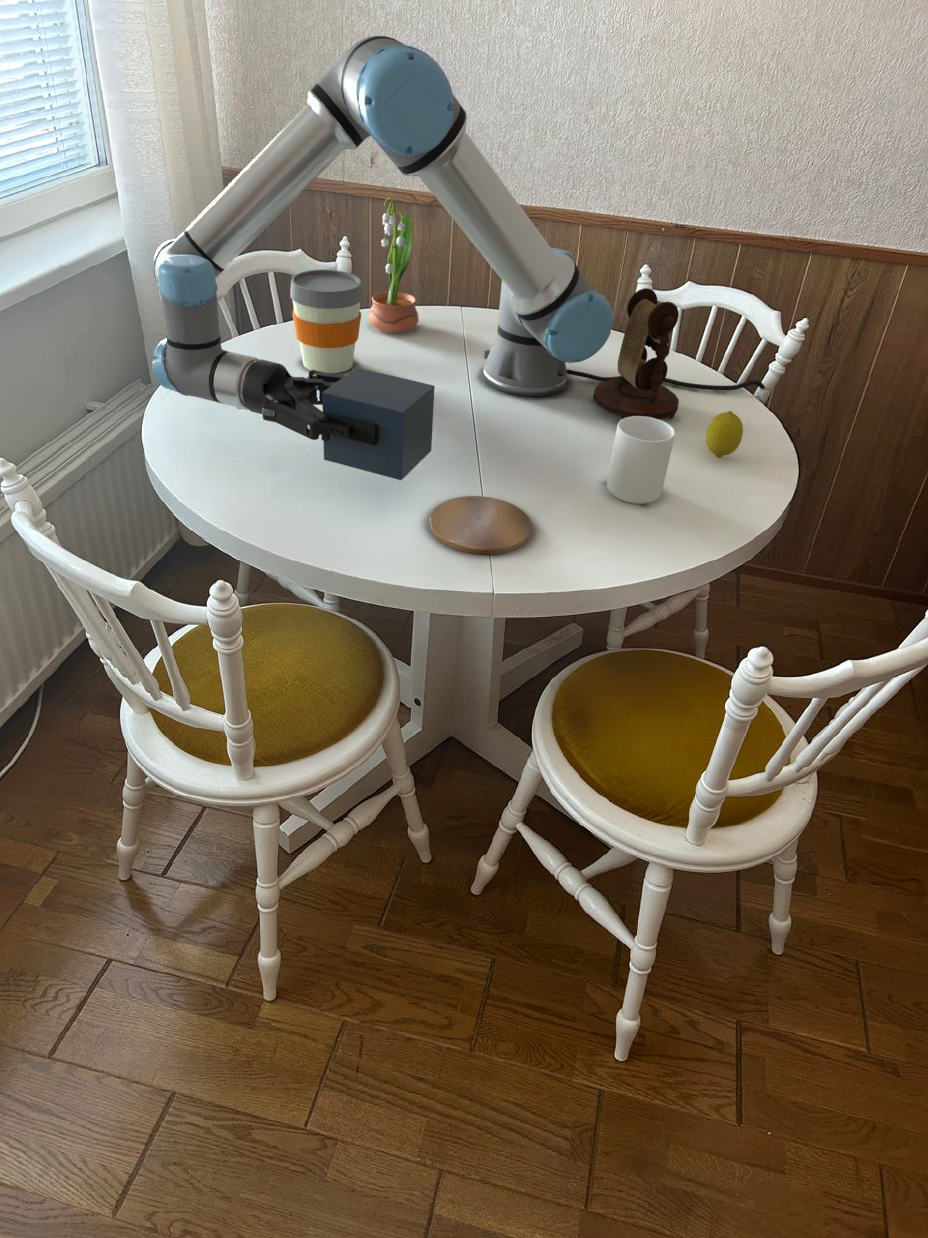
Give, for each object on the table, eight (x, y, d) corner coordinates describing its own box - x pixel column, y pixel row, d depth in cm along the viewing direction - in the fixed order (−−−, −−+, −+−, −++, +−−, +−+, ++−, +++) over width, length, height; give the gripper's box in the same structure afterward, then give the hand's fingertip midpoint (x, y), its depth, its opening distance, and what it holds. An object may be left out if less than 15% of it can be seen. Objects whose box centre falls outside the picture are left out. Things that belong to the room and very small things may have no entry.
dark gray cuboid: (323, 459, 128) (321, 392, 122) (357, 432, 136) (357, 367, 130) (401, 480, 125) (403, 412, 119) (431, 450, 133) (434, 385, 127)
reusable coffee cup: (278, 364, 166) (274, 280, 157) (322, 345, 175) (320, 264, 166) (333, 383, 161) (332, 297, 152) (376, 362, 170) (377, 280, 161)
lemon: (737, 453, 151) (749, 408, 146) (733, 468, 147) (746, 421, 142) (703, 446, 152) (714, 401, 147) (698, 460, 148) (710, 414, 143)
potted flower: (409, 342, 179) (413, 205, 164) (359, 335, 181) (359, 198, 165) (423, 322, 189) (429, 191, 174) (376, 315, 190) (377, 184, 175)
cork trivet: (510, 496, 134) (511, 491, 134) (545, 548, 124) (546, 543, 123) (418, 505, 130) (418, 500, 130) (446, 559, 120) (446, 554, 119)
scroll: (577, 396, 165) (594, 282, 153) (648, 388, 170) (670, 278, 157) (617, 432, 154) (640, 313, 142) (692, 423, 159) (719, 307, 147)
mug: (588, 468, 143) (599, 406, 137) (637, 464, 145) (649, 403, 139) (619, 507, 134) (631, 443, 128) (670, 503, 136) (685, 439, 130)
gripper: (296, 382, 143) (426, 414, 137) (210, 439, 126) (355, 479, 120) (294, 335, 139) (429, 366, 133) (204, 388, 122) (354, 426, 116)
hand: (393, 419), depth 126 cm, fingers closed on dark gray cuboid, 10 cm apart
